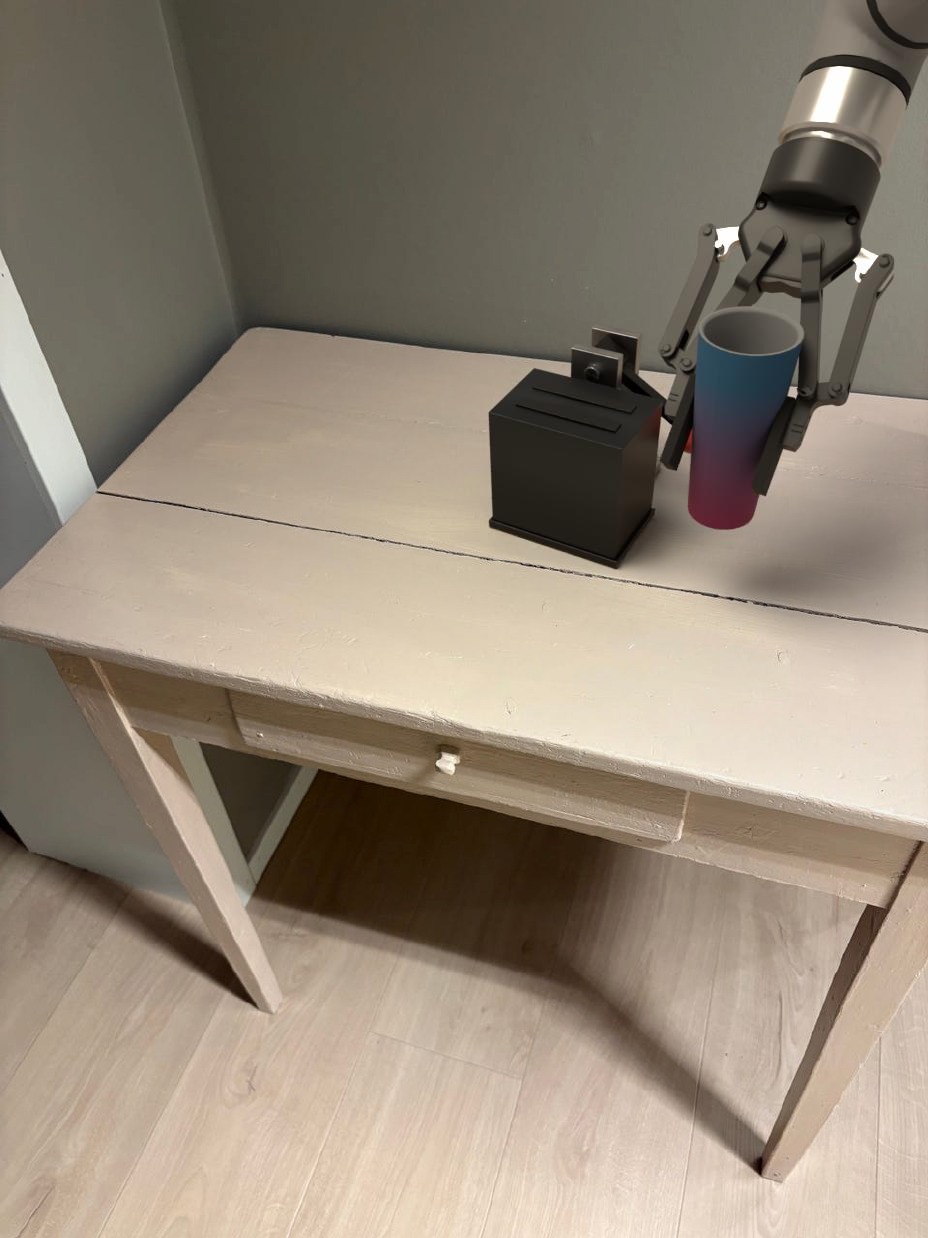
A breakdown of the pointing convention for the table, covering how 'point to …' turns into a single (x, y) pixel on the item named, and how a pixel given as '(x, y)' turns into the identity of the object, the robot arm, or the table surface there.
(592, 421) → the toaster
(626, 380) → the lever
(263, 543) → the table surface
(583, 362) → the bracket
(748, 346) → the cup
